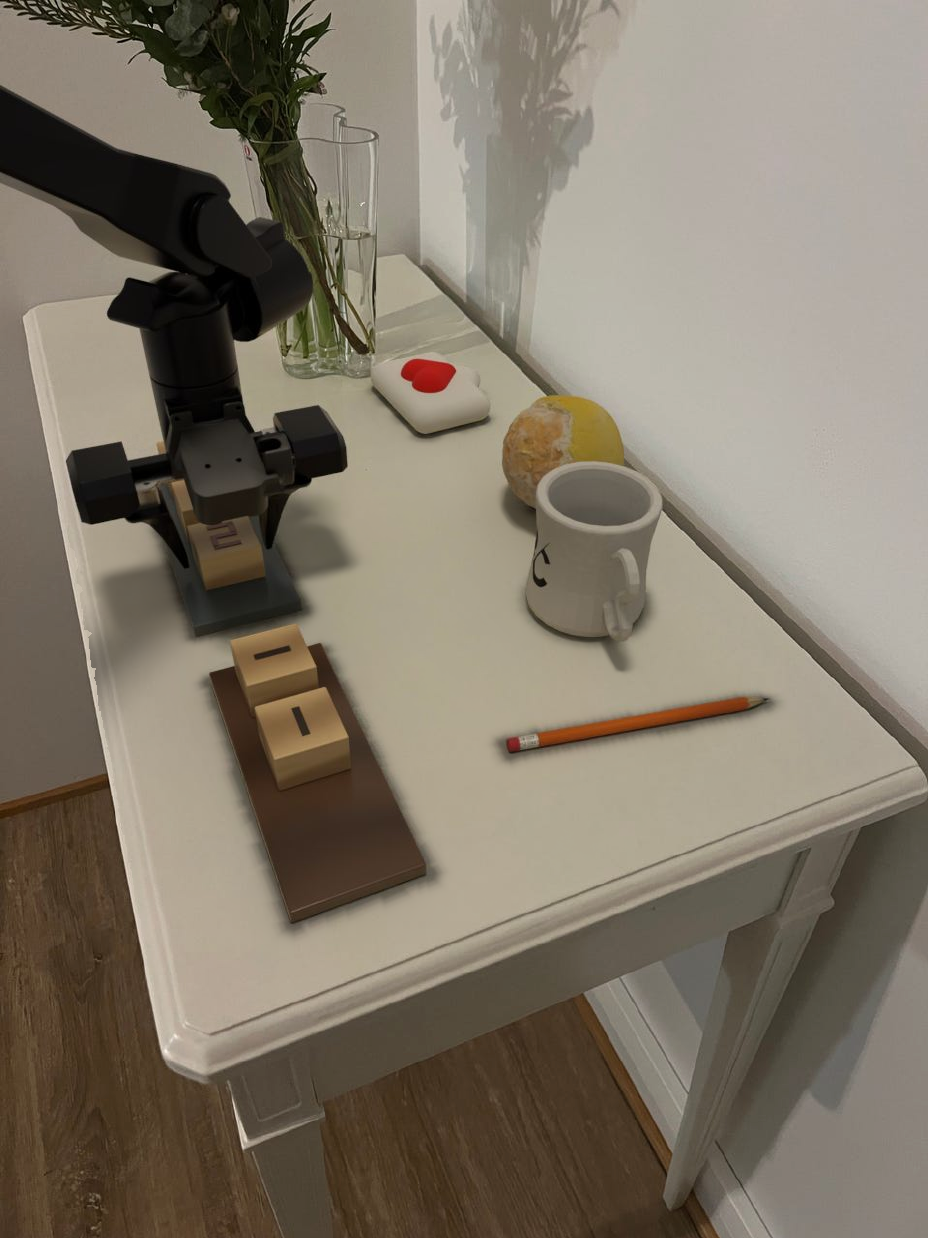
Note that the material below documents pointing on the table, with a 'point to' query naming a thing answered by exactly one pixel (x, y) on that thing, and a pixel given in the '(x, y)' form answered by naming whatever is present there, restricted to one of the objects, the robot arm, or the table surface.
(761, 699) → the pencil
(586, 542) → the mug
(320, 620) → the table surface
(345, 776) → the strip
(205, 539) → the number block
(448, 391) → the icon
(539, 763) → the table surface
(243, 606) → the back word strip
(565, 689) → the table surface
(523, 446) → the fruit
